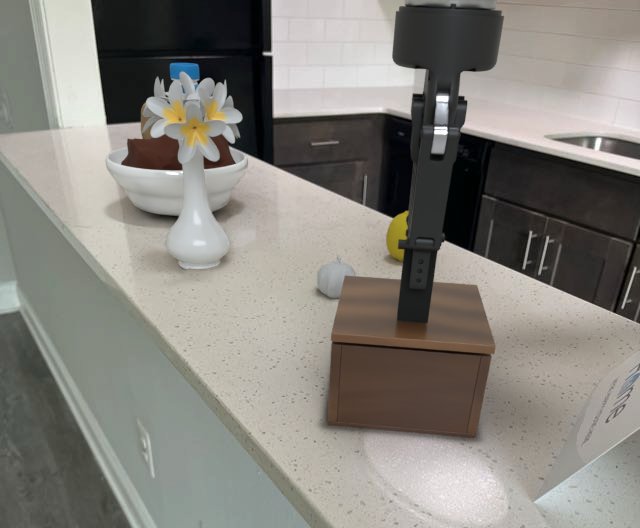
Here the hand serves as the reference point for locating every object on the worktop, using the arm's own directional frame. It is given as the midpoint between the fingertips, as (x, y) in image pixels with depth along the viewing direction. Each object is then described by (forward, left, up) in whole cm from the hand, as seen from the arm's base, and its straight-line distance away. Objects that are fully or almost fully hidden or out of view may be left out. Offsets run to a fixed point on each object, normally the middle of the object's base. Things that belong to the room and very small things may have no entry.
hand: (412, 317), depth 58 cm
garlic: (+9, -30, -11) cm, 33 cm away
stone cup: (+52, -89, -11) cm, 104 cm away
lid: (0, -4, -1) cm, 4 cm away
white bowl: (+41, -66, -11) cm, 78 cm away
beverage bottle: (+53, -115, -11) cm, 127 cm away
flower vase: (+29, -38, -11) cm, 49 cm away
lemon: (0, -45, -11) cm, 46 cm away
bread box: (0, -4, -10) cm, 11 cm away
